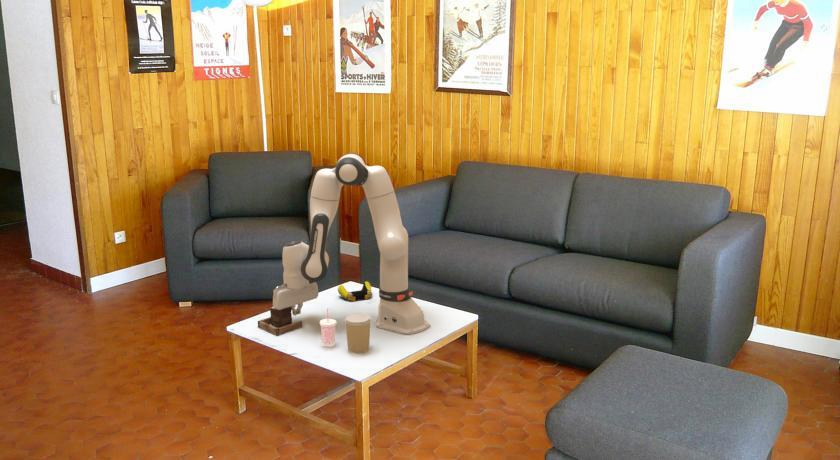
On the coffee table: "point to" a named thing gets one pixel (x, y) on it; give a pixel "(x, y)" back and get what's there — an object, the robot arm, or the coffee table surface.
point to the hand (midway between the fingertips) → (296, 314)
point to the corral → (266, 326)
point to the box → (281, 317)
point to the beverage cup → (328, 331)
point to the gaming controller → (356, 293)
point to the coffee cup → (358, 332)
